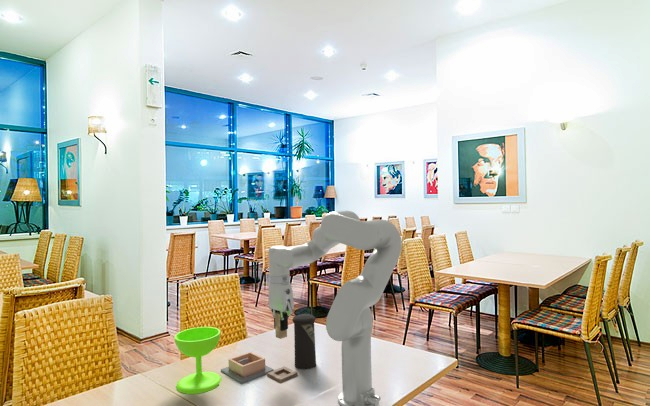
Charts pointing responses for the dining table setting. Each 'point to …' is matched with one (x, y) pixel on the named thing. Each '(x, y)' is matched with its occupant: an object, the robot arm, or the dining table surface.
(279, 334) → the tan wooden bar
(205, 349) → the wineglass
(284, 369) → the brown square tray
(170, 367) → the dining table surface
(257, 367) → the grey base square tray
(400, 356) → the dining table surface
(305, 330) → the container
